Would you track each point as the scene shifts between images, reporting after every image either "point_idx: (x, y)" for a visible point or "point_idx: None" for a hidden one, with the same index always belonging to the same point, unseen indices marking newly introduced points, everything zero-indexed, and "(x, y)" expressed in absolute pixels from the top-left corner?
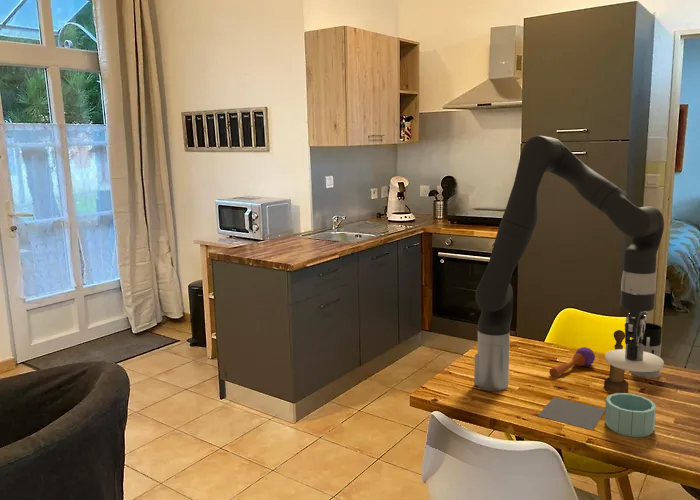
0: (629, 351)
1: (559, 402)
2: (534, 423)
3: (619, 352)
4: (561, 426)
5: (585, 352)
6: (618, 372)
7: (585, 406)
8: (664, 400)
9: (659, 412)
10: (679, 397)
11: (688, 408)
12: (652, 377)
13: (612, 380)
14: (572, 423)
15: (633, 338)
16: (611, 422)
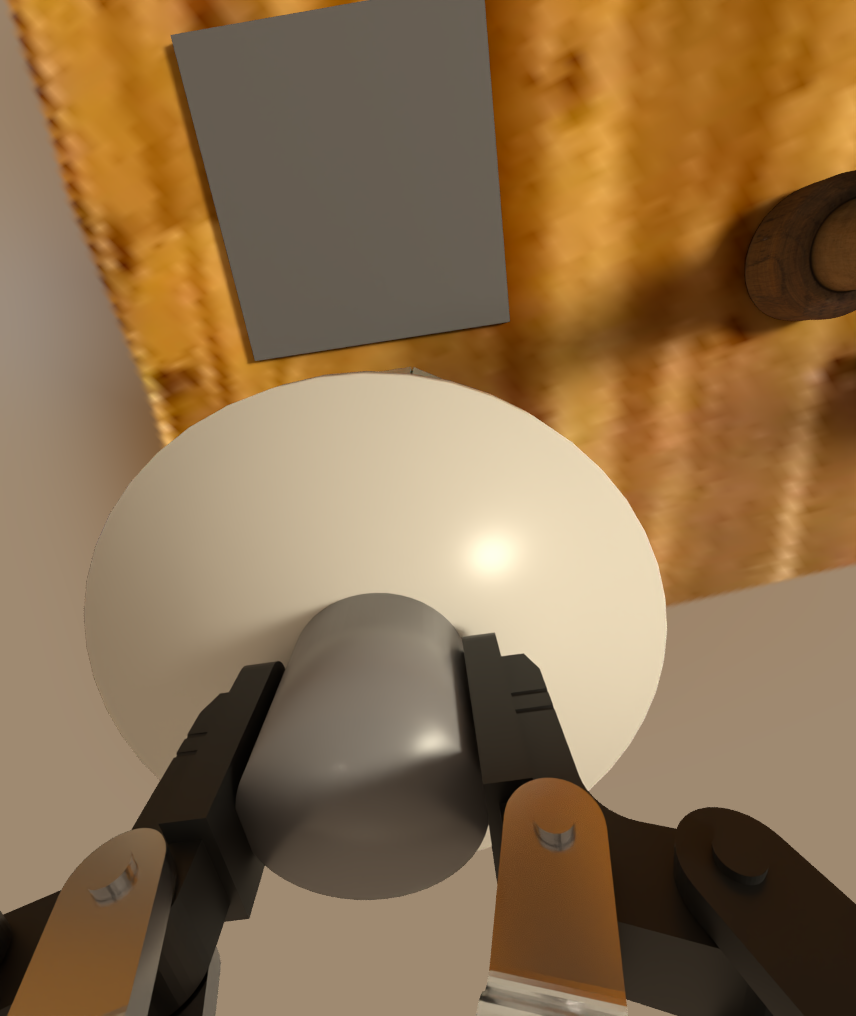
0: (174, 774)
1: (428, 58)
2: (105, 68)
3: (463, 499)
4: (193, 214)
5: None
6: None
7: (473, 218)
8: (773, 483)
9: (632, 504)
10: (837, 519)
11: (734, 573)
12: None
13: (823, 232)
14: (241, 253)
15: (499, 821)
16: None
